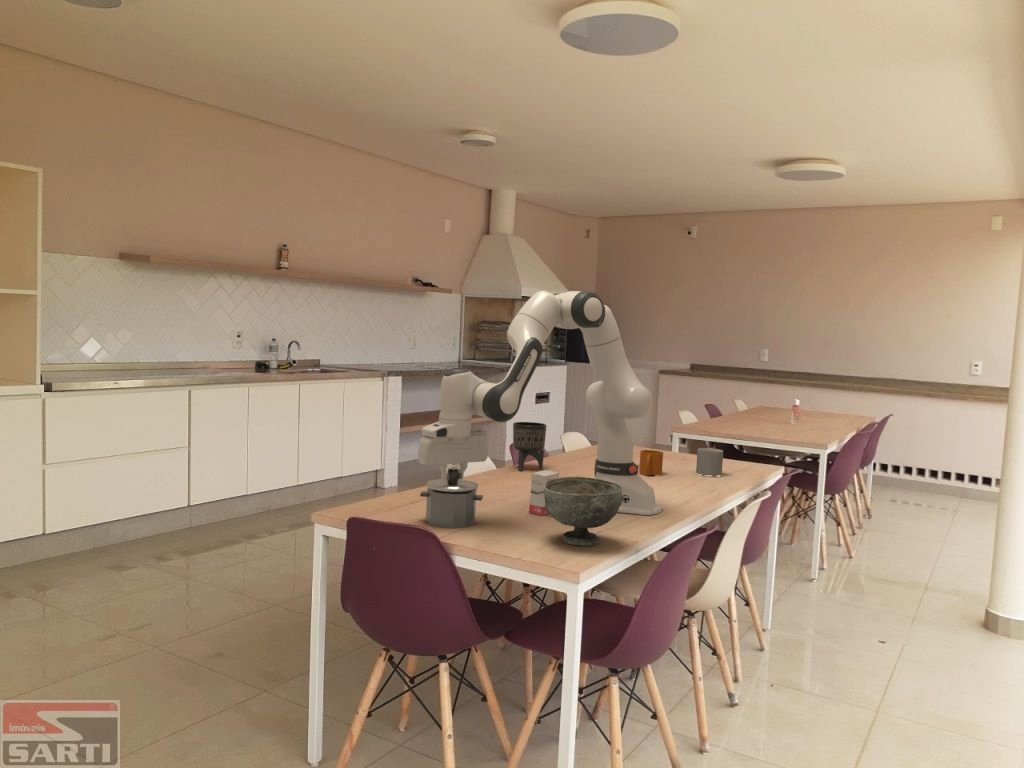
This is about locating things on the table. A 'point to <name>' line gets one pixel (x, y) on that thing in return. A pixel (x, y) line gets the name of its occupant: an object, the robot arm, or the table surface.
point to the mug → (651, 462)
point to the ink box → (540, 491)
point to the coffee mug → (709, 461)
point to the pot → (450, 508)
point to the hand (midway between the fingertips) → (452, 479)
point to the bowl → (582, 505)
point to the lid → (452, 484)
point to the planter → (529, 441)
